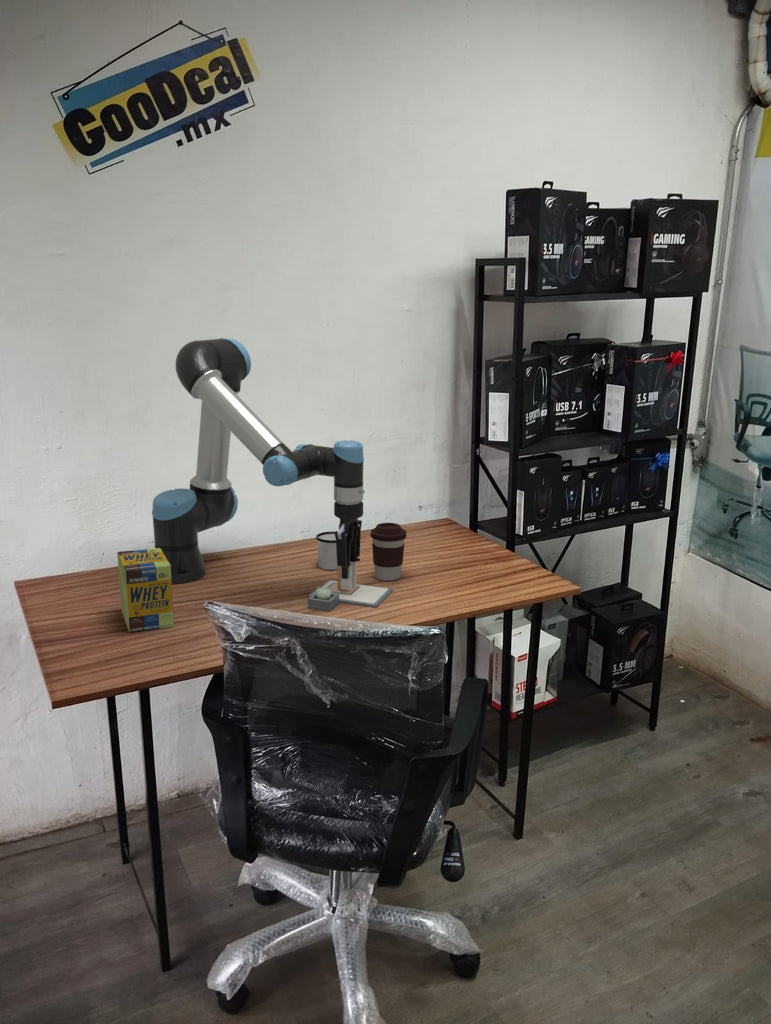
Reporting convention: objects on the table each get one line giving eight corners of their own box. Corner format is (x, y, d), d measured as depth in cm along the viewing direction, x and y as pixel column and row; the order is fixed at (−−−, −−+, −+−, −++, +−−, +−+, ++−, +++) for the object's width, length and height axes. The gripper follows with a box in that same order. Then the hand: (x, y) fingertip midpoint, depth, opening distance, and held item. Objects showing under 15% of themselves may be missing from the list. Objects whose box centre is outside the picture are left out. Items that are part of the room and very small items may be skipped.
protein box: (129, 633, 197) (124, 570, 193) (120, 610, 210) (116, 551, 206) (174, 627, 201) (171, 565, 197) (163, 605, 214) (160, 546, 210)
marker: (335, 590, 224) (335, 557, 221) (339, 586, 227) (339, 553, 224) (347, 591, 223) (347, 558, 220) (351, 587, 226) (351, 554, 223)
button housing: (308, 608, 213) (308, 598, 213) (317, 600, 219) (317, 591, 218) (330, 611, 212) (330, 602, 211) (339, 603, 217) (339, 594, 216)
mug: (352, 569, 243) (352, 539, 240) (320, 572, 240) (320, 542, 237) (340, 556, 254) (340, 527, 251) (310, 559, 251) (309, 530, 248)
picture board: (307, 598, 220) (307, 594, 220) (327, 582, 232) (327, 578, 232) (376, 607, 214) (376, 604, 214) (393, 591, 226) (393, 587, 226)
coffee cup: (401, 584, 231) (403, 531, 227) (366, 581, 233) (367, 529, 229) (408, 572, 241) (409, 522, 237) (374, 570, 243) (374, 519, 239)
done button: (314, 602, 214) (314, 591, 213) (320, 597, 217) (320, 586, 216) (327, 604, 213) (327, 593, 212) (333, 599, 216) (333, 588, 215)
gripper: (350, 509, 210) (350, 599, 216) (372, 495, 224) (372, 579, 230) (323, 507, 212) (323, 595, 218) (346, 493, 226) (346, 576, 232)
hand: (348, 587), depth 224 cm, fingers closed on marker, 3 cm apart
